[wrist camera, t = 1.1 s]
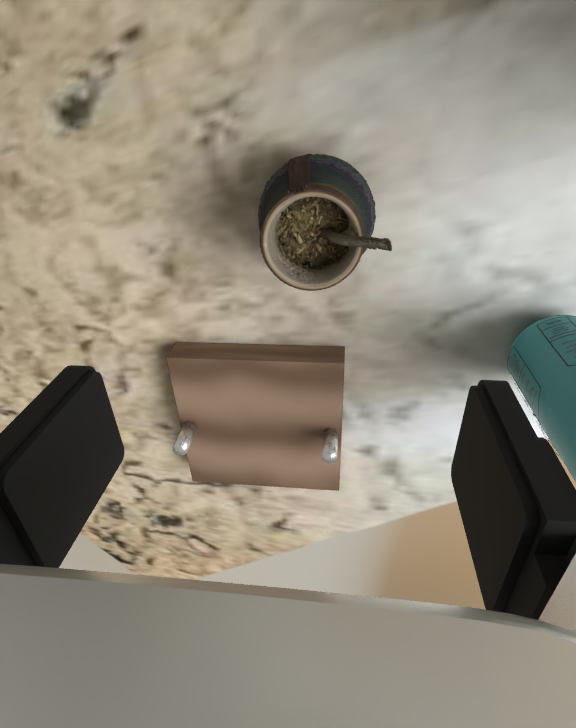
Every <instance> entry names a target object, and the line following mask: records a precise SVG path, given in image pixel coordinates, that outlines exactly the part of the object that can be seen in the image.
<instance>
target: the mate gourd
mask: <svg viewBox="0 0 576 728" xmlns="http://www.w3.org/2000/svg"><path fill="white" fill-rule="evenodd" d="M266 183H267V185H265V188H264V192H263V194H262V197H261V201H260V205H259V213H258V218H259V228H260V247H261V252H262V254H263V258H264V260H265V262H266V264H267V266H268V267H269V268H270V270H271V271H272V272H273V274H274V275H275V276H276V277H277V278H278V279H280V280H281V281H282V282H284V283H285V284H287V285H289V286H292V287H294V288H297V289H301V290H308V291H309V290H310V291H312V290H322V289H326V288H329V287H332V286H334V285H336V284H338V283H339V282H341V281H342V280H344V279H345V278H346V277H347V276H348V275H349V274H350V273H351V272H352V271H353V270H354V269H355V267H356V266H357V264H358V262H359V261H360V258H361V255H362V254H363V253H364V252H365V251H366V249H367V248H369V249H374V250H375V249H377V248H378V249H382V250H389V251H391V250H392V245H391V241H390V240H389V239H388V238H387V239H386V238H384V239H379V238H373V237H371V235H372V233H373V230H374V223H375V219H376V216H375V201H374V200H373V196H372V193H371V190H370V188H369V186H368V184H367V181H366V180H365V179H364V178H363V176H362V175H361V174H360V173H359V172H358V171H357V170H356V169H355V168H354V167H352V166H351V165H350V164H349V163H348V162H345V161H343V160H341V159H339V158H336V157H333V156H327V155H324V154H323V155H319V154H315V155H312V154H307V155H304V156H298V157H295V158H293V159H291V160H290V161H289V162H288V163H287V164H285V165H284V166H283V167H282V168H281V169H279V170H278V171H277V172H276V173H275V174H274V175H273V176H272V177H271V178H270V180H269V181H268V182H266Z"/></svg>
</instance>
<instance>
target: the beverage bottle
mask: <svg viewBox="0 0 576 728" xmlns="http://www.w3.org/2000/svg"><path fill="white" fill-rule="evenodd" d="M508 359H509V368H510V370H508V371H511V372H510V373H511V375H513V378H514V380H515V381H516V383H517V384H516V383H514V384H515V385H518V387H519V389H520V390H521V392H522V394H524V397H525V399H526V400H527V402H528V404H529V406H531V409H532V411H533V413H535V414H533V413H532V412H531V413H532V414H533V415H534V416H535V417H536V418H537V420H538V421H539V423H540V424H539V423H537V424H539V426H540V425H542V427H543V430H544V431H545V432H546V434H547V436H548V437H549V439H550V441H551V443H552V444H553V446H554V447H555V449H556V451H557V452H558V453H559V455H560V457H561V458H562V460H563V462H564V463H565V465H566V467H567V468H568V470H569V472H570V473H571V475H572V477H573V478H574V480H575V482H576V316H570V315H557V316H551V317H547V318H544V319H541V320H539V321H537V322H535V323H533V324H531V325H530V326H528V327H527V328H525V329H524V330H523V331H522V332H521V333H520V334H519V335H518V336H517V337H516V339H515V340H514V342H513V344H512V346H511V348H510V352H509V357H508ZM517 389H518V388H517ZM518 391H519V390H518ZM522 398H523V397H522ZM526 400H524V401H525V402H526ZM527 402H526V403H527ZM526 405H527V404H526ZM542 427H541V428H542ZM541 431H542V430H541ZM542 432H543V431H542ZM543 433H544V432H543ZM544 434H545V433H544ZM546 434H545V435H546ZM545 435H544V436H545ZM547 440H548V439H547ZM548 441H549V440H548Z"/></svg>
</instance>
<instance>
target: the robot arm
mask: <svg viewBox="0 0 576 728" xmlns="http://www.w3.org/2000/svg"><path fill="white" fill-rule="evenodd" d="M123 457H124V446H123V443H122V440H121V437H120V433H119V430H118V427H117V424H116V421H115V417H114V414H113V411H112V408H111V404H110V401H109V398H108V395H107V392H106V388H105V385H104V382H103V379H102V376H101V374H100V373H99V372H96V371H95V369H94V368H93V367H91V366H72V365H71V366H67V367H66V368H65V369H64V370H63V371H62V372H61V373H60V374H59V375H58V376H57V377H56V378H55V379H54V380H53V381H52V382H51V383H50V384H49V385H48V386H47V387H46V388H45V389H44V390H43V391H42V392H41V393H40V394H39V395H38V396H37V397H36V398H35V399H34V400H33V401H32V402H31V403H30V404H29V405H28V406H27V407H26V408H25V409H24V410H23V411H22V412H21V413H20V414H19V415H18V416H17V417H16V418H15V419H14V420H13V421H12V422H11V423H10V424H9V425H8V426H7V427H6V428H5V429H4V430H3V431H2V432H1V433H0V728H576V490H575V488H574V486H573V484H572V482H571V481H570V479H569V477H568V475H567V474H566V472H565V470H564V468H563V467H562V465H561V463H560V461H559V459H558V458H557V456H556V454H555V452H554V450H553V449H552V447H551V445H550V444H549V442H548V441H547V440H546V439H544V438H539V437H537V435H536V433H535V431H534V430H533V428H532V426H531V424H530V422H529V420H528V418H527V417H526V415H525V413H524V411H523V409H522V407H521V405H520V404H519V402H518V400H517V398H516V396H515V394H514V392H513V391H512V389H511V387H510V385H509V383H508V382H507V381H495V380H481V381H480V382H479V383H478V386H471V387H470V390H469V393H468V398H467V402H466V406H465V411H464V415H463V419H462V424H461V428H460V432H459V437H458V441H457V445H456V450H455V454H454V458H453V463H452V468H451V477H452V483H453V487H454V491H455V494H456V498H457V502H458V506H459V510H460V513H461V517H462V521H463V525H464V529H465V532H466V536H467V540H468V544H469V548H470V551H471V555H472V559H473V563H474V566H475V570H476V574H477V578H478V582H479V586H480V589H481V593H482V597H483V601H484V605H485V608H486V610H483V609H476V608H471V607H462V606H453V605H444V604H435V603H427V602H417V601H408V600H400V599H390V598H381V597H370V596H360V595H349V594H339V593H328V592H317V591H308V590H297V589H286V588H276V587H266V586H255V585H244V584H233V583H222V582H211V581H199V580H189V579H178V578H167V577H155V576H144V575H133V574H120V573H109V572H97V571H86V570H74V569H62V568H59V566H60V565H61V563H62V561H63V560H64V558H65V556H66V555H67V553H68V551H69V550H70V548H71V546H72V544H73V543H74V541H75V540H76V538H77V536H78V535H79V533H80V531H81V530H82V528H83V526H84V524H85V523H86V521H87V519H88V518H89V516H90V514H91V513H92V511H93V509H94V508H95V506H96V504H97V503H98V501H99V499H100V498H101V496H102V494H103V493H104V491H105V489H106V487H107V486H108V484H109V482H110V481H111V479H112V477H113V476H114V474H115V472H116V471H117V469H118V467H119V466H120V464H121V462H122V460H123Z"/></svg>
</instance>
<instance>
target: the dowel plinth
mask: <svg viewBox="0 0 576 728" xmlns="http://www.w3.org/2000/svg"><path fill="white" fill-rule="evenodd" d="M344 356H345V347H335V346H299V345H262V344H225V343H188V342H176V344H175V345H174V347H173V348H172V350H171V351H170V353H169V355H168V356H167V358H166V359H167V363H168V368H169V373H170V377H171V382H172V387H173V391H174V396H175V401H176V405H177V410H178V415H179V419H180V424H181V429H182V430H181V432H180V434H179V436H178V438H177V440H176V442H175V444H174V447H173V451H174V453H176V454H177V455H181V456H183V455H185V454H187V457H188V461H189V466H190V471H191V475H192V480H193V481H195V482H211V483H227V484H243V485H259V486H274V487H290V488H306V489H322V490H338V491H339V481H340V457H341V433H342V410H343V386H344Z"/></svg>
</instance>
